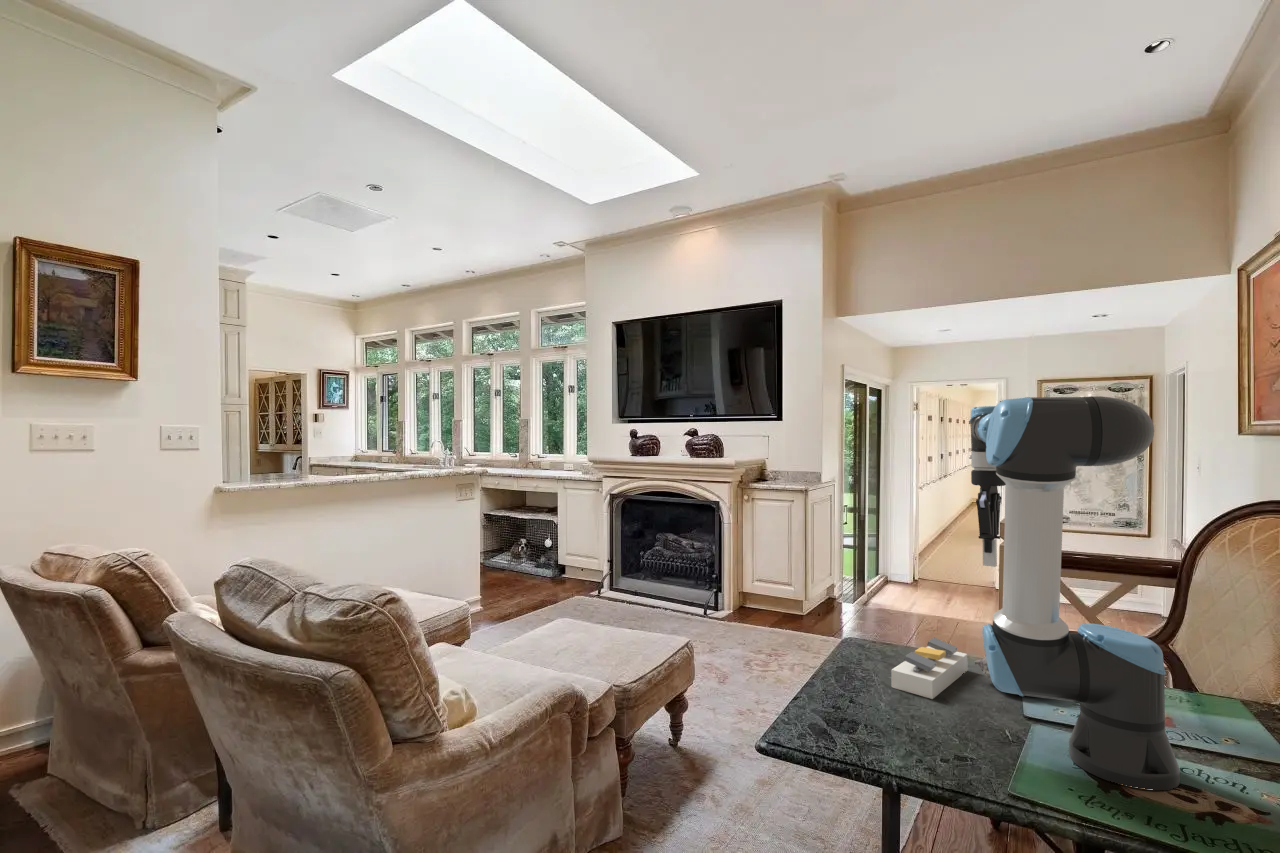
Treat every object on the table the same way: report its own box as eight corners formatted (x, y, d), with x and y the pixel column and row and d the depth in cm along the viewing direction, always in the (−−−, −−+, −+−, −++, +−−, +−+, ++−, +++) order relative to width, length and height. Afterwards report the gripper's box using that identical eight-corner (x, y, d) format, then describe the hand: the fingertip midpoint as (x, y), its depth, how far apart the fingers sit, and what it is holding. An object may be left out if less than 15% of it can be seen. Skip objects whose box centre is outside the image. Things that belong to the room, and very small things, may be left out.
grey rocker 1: (935, 667, 140) (936, 662, 140) (928, 671, 137) (929, 667, 137) (910, 655, 144) (911, 651, 144) (903, 660, 141) (904, 655, 141)
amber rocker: (945, 655, 145) (945, 650, 145) (939, 660, 142) (939, 655, 142) (921, 651, 149) (921, 646, 149) (915, 655, 146) (914, 650, 146)
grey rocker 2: (956, 651, 150) (957, 647, 150) (950, 655, 147) (951, 651, 147) (933, 641, 154) (934, 637, 154) (927, 645, 151) (928, 641, 151)
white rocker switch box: (974, 665, 154) (973, 644, 154) (932, 699, 134) (932, 675, 134) (936, 656, 160) (936, 636, 160) (891, 687, 141) (891, 664, 141)
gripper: (979, 467, 158) (980, 559, 158) (963, 469, 149) (964, 567, 148) (1012, 468, 153) (1014, 563, 153) (998, 470, 144) (999, 572, 143)
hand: (989, 565), depth 151 cm, fingers closed
